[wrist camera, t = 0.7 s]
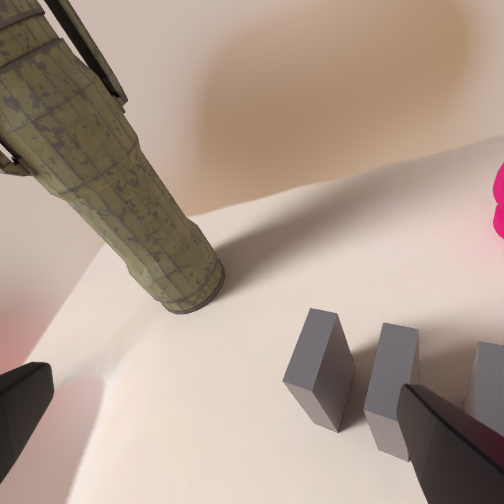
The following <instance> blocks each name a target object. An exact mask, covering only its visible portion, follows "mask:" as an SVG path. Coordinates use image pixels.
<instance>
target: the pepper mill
mask: <svg viewBox="0 0 504 504" xmlns="http://www.w3.org/2000/svg"><path fill="white" fill-rule="evenodd" d="M493 195H494V198H495V200H496V202H497V203H498V204H497V206H496V210H495V215H494V220H493V225H494V228H495V230H496V232H497V233H498V235H499V236H500V237H502V238H503V239H504V163H503V164H502V166H501V167H500V169H499V171H498V172H497V175H496V178H495V182H494V185H493Z"/></svg>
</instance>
